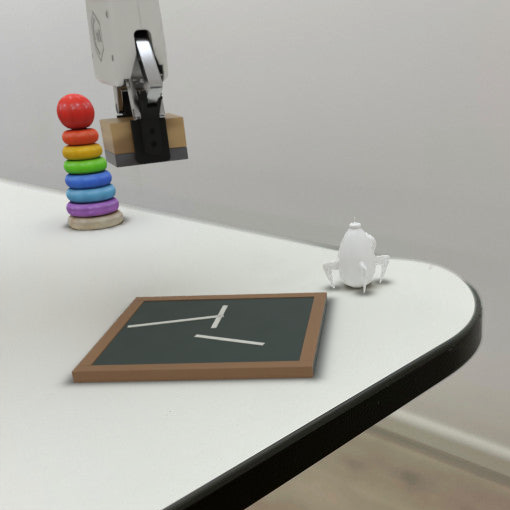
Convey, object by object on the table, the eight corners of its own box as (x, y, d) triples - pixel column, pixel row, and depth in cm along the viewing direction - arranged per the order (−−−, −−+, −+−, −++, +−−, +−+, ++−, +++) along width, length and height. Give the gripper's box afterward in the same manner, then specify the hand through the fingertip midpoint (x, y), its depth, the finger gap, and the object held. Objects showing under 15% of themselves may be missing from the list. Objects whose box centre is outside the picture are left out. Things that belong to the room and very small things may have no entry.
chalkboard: (74, 385, 64) (71, 371, 63) (138, 308, 81) (136, 296, 80) (313, 380, 63) (312, 366, 63) (327, 303, 80) (326, 291, 79)
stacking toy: (135, 221, 116) (114, 91, 109) (98, 234, 110) (74, 96, 102) (95, 217, 120) (72, 91, 112) (57, 230, 113) (30, 96, 105)
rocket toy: (390, 284, 85) (389, 213, 82) (367, 299, 81) (365, 225, 77) (348, 277, 87) (345, 208, 84) (323, 292, 83) (319, 220, 80)
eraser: (116, 167, 72) (109, 123, 71) (106, 161, 76) (99, 119, 74) (188, 159, 75) (183, 116, 74) (175, 153, 79) (169, 113, 77)
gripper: (55, -43, 73) (89, 152, 81) (92, -61, 60) (129, 176, 67) (133, -43, 76) (159, 144, 84) (185, -60, 63) (211, 165, 70)
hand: (146, 156), depth 75 cm, fingers closed on eraser, 4 cm apart
